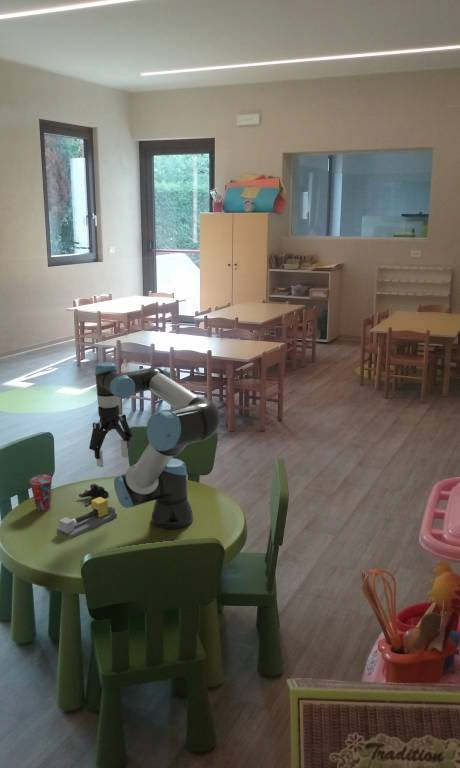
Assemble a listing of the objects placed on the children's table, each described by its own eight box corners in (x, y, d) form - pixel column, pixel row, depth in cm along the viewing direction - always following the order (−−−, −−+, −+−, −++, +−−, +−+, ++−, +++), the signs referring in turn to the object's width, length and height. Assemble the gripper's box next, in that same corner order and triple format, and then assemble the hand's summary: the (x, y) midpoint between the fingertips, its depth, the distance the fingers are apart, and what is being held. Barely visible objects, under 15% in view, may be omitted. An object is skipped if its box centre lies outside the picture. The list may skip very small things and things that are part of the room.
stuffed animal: (106, 485, 281) (108, 479, 270) (109, 509, 278) (111, 504, 267) (76, 489, 278) (78, 483, 267) (79, 513, 275) (80, 508, 264)
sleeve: (100, 510, 258) (99, 496, 257) (108, 513, 255) (107, 500, 254) (92, 514, 255) (91, 500, 254) (99, 517, 252) (98, 503, 251)
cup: (58, 509, 263) (55, 480, 260) (36, 515, 259) (33, 485, 255) (49, 500, 271) (46, 472, 268) (28, 506, 266) (25, 477, 263)
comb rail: (103, 510, 262) (102, 498, 260) (117, 516, 256) (116, 504, 255) (57, 531, 246) (55, 518, 245) (70, 538, 241) (69, 525, 240)
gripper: (126, 395, 261) (129, 450, 267) (75, 411, 244) (80, 468, 249) (139, 399, 256) (143, 454, 262) (89, 415, 239) (93, 473, 245)
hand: (112, 461), depth 256 cm, fingers open, 11 cm apart
